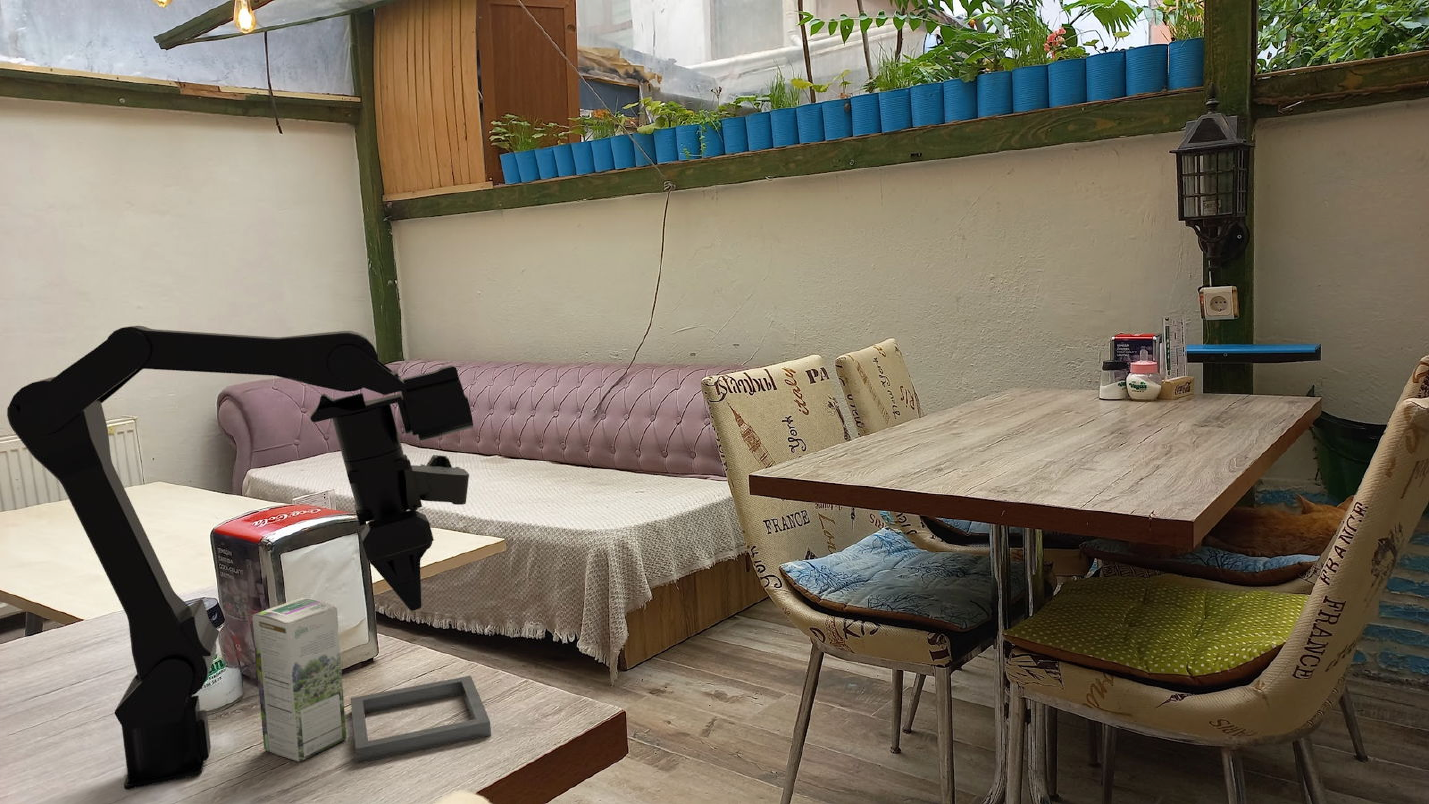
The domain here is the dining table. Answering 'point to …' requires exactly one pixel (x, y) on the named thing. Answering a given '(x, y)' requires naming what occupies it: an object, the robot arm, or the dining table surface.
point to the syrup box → (299, 678)
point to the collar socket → (423, 737)
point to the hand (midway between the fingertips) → (411, 596)
